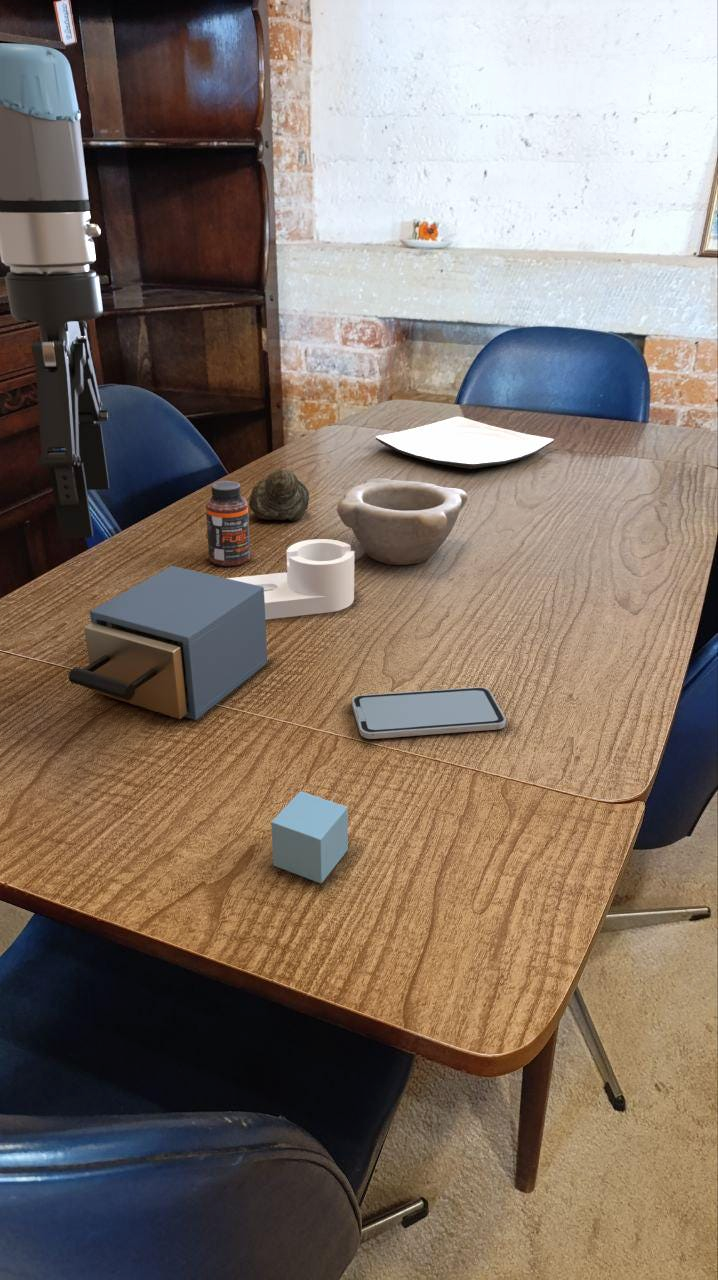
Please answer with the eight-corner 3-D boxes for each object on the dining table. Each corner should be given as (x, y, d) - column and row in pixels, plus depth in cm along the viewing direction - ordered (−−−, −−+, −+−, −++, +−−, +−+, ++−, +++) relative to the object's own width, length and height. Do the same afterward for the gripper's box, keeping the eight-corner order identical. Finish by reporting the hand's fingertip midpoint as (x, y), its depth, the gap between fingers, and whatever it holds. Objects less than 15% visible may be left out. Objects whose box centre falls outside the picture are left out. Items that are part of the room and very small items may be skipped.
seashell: (229, 491, 136) (290, 496, 133) (250, 434, 141) (309, 438, 139) (249, 535, 145) (306, 540, 143) (267, 480, 151) (323, 484, 148)
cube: (273, 865, 71) (270, 822, 69) (301, 833, 74) (300, 790, 72) (321, 884, 69) (320, 839, 67) (348, 849, 73) (348, 806, 71)
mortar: (471, 543, 134) (476, 485, 130) (436, 584, 120) (439, 521, 116) (370, 527, 140) (371, 471, 135) (325, 565, 126) (324, 503, 121)
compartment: (195, 720, 90) (188, 637, 85) (101, 690, 95) (89, 611, 90) (267, 663, 100) (264, 586, 96) (179, 638, 106) (171, 565, 101)
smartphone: (508, 723, 88) (361, 734, 86) (507, 730, 89) (361, 741, 86) (487, 685, 95) (350, 695, 92) (486, 692, 95) (350, 702, 93)
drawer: (148, 744, 84) (139, 674, 81) (59, 714, 89) (46, 647, 85) (249, 665, 98) (245, 602, 94) (167, 643, 103) (161, 582, 99)
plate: (563, 452, 178) (564, 439, 177) (472, 481, 161) (473, 467, 160) (456, 426, 197) (457, 414, 195) (364, 449, 179) (365, 436, 178)
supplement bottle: (224, 571, 124) (219, 494, 118) (201, 559, 127) (195, 484, 122) (259, 560, 127) (255, 485, 122) (235, 549, 131) (230, 475, 126)
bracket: (344, 581, 121) (344, 536, 118) (361, 608, 113) (362, 560, 110) (198, 597, 116) (194, 550, 113) (206, 626, 108) (202, 576, 105)
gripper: (77, 283, 63) (114, 559, 73) (112, 256, 84) (137, 470, 94) (-33, 285, 62) (20, 563, 72) (31, 256, 83) (65, 473, 93)
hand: (87, 511), depth 83 cm, fingers open, 13 cm apart
